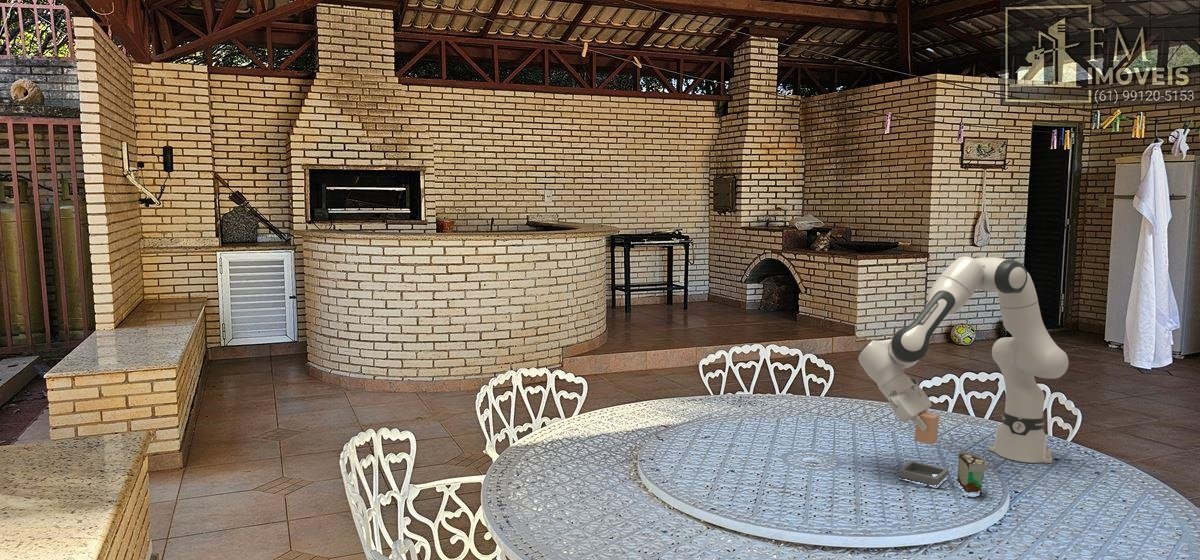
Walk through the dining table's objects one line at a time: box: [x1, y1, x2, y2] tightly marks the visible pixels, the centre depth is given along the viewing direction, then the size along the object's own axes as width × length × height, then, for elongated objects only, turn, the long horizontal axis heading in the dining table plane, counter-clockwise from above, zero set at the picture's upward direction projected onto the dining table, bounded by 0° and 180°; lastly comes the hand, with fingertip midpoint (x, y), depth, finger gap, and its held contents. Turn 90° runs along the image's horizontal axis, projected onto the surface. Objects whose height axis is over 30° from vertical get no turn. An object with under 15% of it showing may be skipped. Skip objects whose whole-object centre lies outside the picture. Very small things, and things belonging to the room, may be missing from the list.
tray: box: [897, 460, 949, 486], centre depth 230 cm, size 11×11×3 cm
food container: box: [957, 451, 988, 493], centre depth 221 cm, size 12×6×10 cm, turn 168°
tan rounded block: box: [914, 412, 940, 446], centre depth 229 cm, size 5×5×8 cm
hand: (929, 427), depth 229 cm, fingers closed on tan rounded block, 5 cm apart
